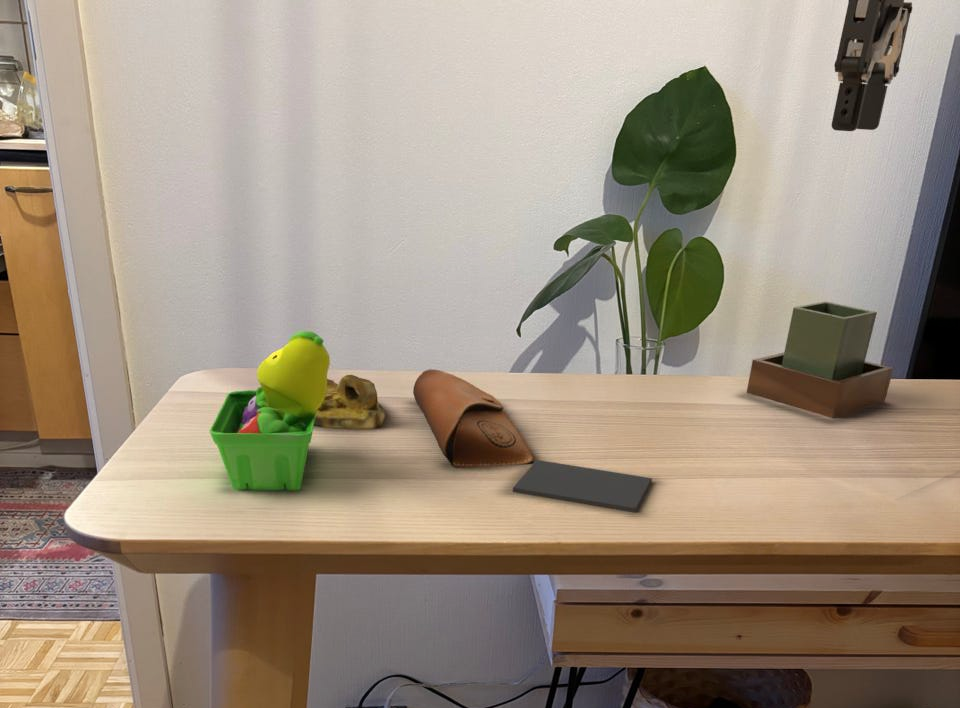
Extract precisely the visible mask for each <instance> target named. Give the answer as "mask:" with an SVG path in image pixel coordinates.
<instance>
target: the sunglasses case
mask: <svg viewBox="0 0 960 708" xmlns="http://www.w3.org/2000/svg"><path fill="white" fill-rule="evenodd" d="M412 394H413V397H414V400H415V402H416V404H417V406H418V407H419V408H420V411H421V413H423V416H424V418H425V420H426V422H427V424H428V426H429V428H430V430H431V432H432V434H433V436H434V438H435V441H436V443H437V445H438V447H439V449H440V451H441V453H442V455H443V456H444V457H445V458H446V459H447V461H448V462H449V463H450V465H452V466H453V467H454V468H469V467H470V468H473V467H493V466H523V465H528V464H531V463H534V462H535V459H534V456H533V453H532V451H531V449H530V447H529V446H528V444H527V442H526V441H525V439H524V438H523V436H522V434H521V433H520V432H519V430H518V428H517V427H516V425H514V423H513V421H512V420H511V419H510V417H509V416H508V415H507V413H506V412H505V410H504V406H503V405H502V404H501V402H500V401H499V400H498V399H497V398H496V397H495V396H493V395H492V394H490V393H488V392H486V391H484V390H482V389H480V388H479V387H477V386H475V385H474V384H472V383H470V382H468V381H467V380H465V379H463V378H461V377H458V376H456V375H454V374H452V373H448V372H446V371H443V370H439V369H431V368H429V369H426V370H424V371H423V372H422V373H421V374H420V375H419V376H418V377H417V378H416V380H415V382H414V385H413V390H412Z"/></svg>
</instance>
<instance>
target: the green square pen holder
mask: <svg viewBox="0 0 960 708" xmlns="http://www.w3.org/2000/svg"><path fill="white" fill-rule="evenodd" d="M877 314H878V312H877V311H874V310H869V309H864V308H860V307H855V306H850V305H845V304H841V303H835V302H830V301H820V302H814V303H809V304H803V305H798V306H793V308H792V313H791V318H790V323H789V328H788V332H787V337H786V343H785V348H784V352H783V353H784V357H783V362H782V366H786V367H789V368H793V369H797V370H800V371H804V372H808V373H812V374H815V375H819V376H823V377H827V378H830V379H834V380H838V381H839V380H843V379H847V378H850V377H854V376H857V375H861V374H862V371H863V367H864V363H865V361H866V359H867V354H868V350H869V347H870V343H871V338H872V334H873V331H874V326H875V322H876V318H877Z"/></svg>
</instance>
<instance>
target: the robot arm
mask: <svg viewBox="0 0 960 708" xmlns="http://www.w3.org/2000/svg"><path fill="white" fill-rule="evenodd" d="M912 12H913V2H912V1H908V2H907V1H905V0H848V3H847V8H846V13H845V16H844V21H843V26H842V31H841V34H840V35H841V36H840V40H839V44H838V45H839V46H838V50H837V54H836V59H835V62H834V65H833V67H834V72H835V73H837V81H838V82H839V86H838V89H837V90H838V91H837V96H836V100H835V105H834V110H833V116H832V121H831V128H832V130H833V131H839V132H854V131H856V130H865V131H866V130H867V131H874V130H877V128H878V127H879V126H880V122H881V117H882V115H883V114H882V112H883V108H884V104H885V99H886V95H887V92H888V86H889V85H891V83H892V81H893V80H894V78H896V77H897V75H898V74H899V72H900V64H901V58H902V55H903V54H902V53H903V51H904V44H905V41H906V35H907V31H908V28H909V27H908V26H909V22H910V18H911V14H912Z"/></svg>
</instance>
